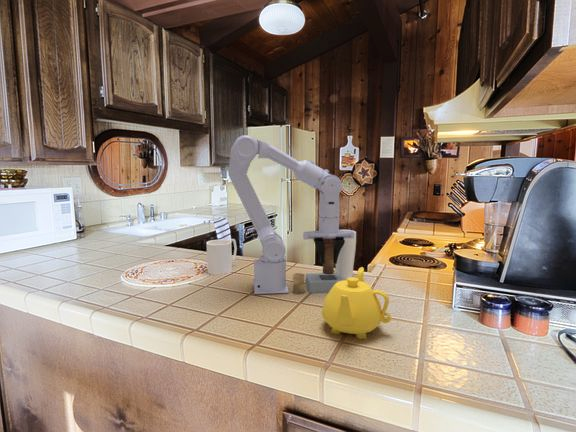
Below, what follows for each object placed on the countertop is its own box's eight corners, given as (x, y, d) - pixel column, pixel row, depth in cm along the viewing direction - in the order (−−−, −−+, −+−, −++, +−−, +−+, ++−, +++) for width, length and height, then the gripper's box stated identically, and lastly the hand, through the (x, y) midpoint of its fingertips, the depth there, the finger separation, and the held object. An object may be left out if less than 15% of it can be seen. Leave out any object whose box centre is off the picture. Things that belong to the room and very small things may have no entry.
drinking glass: (354, 281, 105) (356, 234, 103) (332, 280, 107) (333, 233, 104) (355, 274, 112) (356, 229, 110) (334, 273, 113) (335, 229, 111)
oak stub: (293, 294, 95) (293, 277, 95) (292, 290, 98) (292, 273, 98) (305, 294, 96) (305, 276, 95) (303, 289, 99) (303, 273, 98)
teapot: (384, 360, 63) (387, 301, 62) (308, 344, 69) (309, 289, 67) (394, 316, 82) (397, 269, 80) (334, 306, 87) (335, 262, 86)
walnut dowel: (323, 274, 98) (323, 247, 97) (322, 271, 101) (322, 244, 100) (334, 274, 98) (335, 247, 97) (332, 270, 102) (333, 244, 100)
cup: (244, 267, 120) (244, 239, 118) (218, 276, 110) (217, 246, 109) (228, 263, 125) (228, 236, 123) (202, 271, 115) (201, 242, 114)
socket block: (309, 292, 96) (309, 282, 96) (305, 283, 104) (305, 273, 104) (344, 291, 97) (344, 281, 97) (337, 282, 105) (338, 272, 105)
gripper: (305, 219, 93) (305, 267, 95) (357, 218, 94) (356, 266, 96) (302, 215, 100) (302, 260, 102) (350, 214, 101) (349, 259, 103)
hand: (328, 262), depth 100 cm, fingers closed on walnut dowel, 3 cm apart
